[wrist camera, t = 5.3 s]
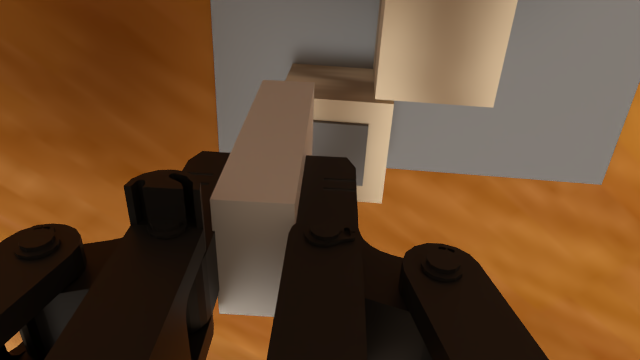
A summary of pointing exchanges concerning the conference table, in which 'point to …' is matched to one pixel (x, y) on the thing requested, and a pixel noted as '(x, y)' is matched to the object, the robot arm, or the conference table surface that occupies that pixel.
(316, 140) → the marked block
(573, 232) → the conference table surface
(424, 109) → the mat
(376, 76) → the plain block
